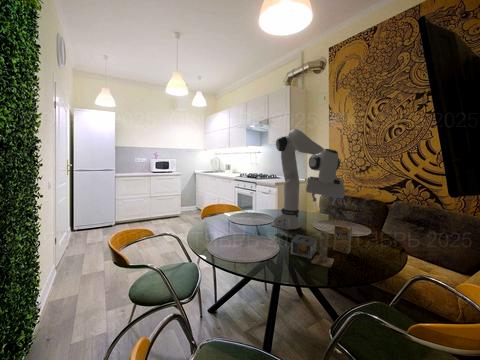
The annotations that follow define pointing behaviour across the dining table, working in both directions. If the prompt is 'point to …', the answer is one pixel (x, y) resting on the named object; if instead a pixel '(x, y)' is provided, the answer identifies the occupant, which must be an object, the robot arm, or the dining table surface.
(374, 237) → the dining table surface
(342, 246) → the candy box
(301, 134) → the robot arm
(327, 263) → the cork pad
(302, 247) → the glossy orange ball
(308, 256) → the guard box
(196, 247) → the dining table surface
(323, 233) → the beige square bar
